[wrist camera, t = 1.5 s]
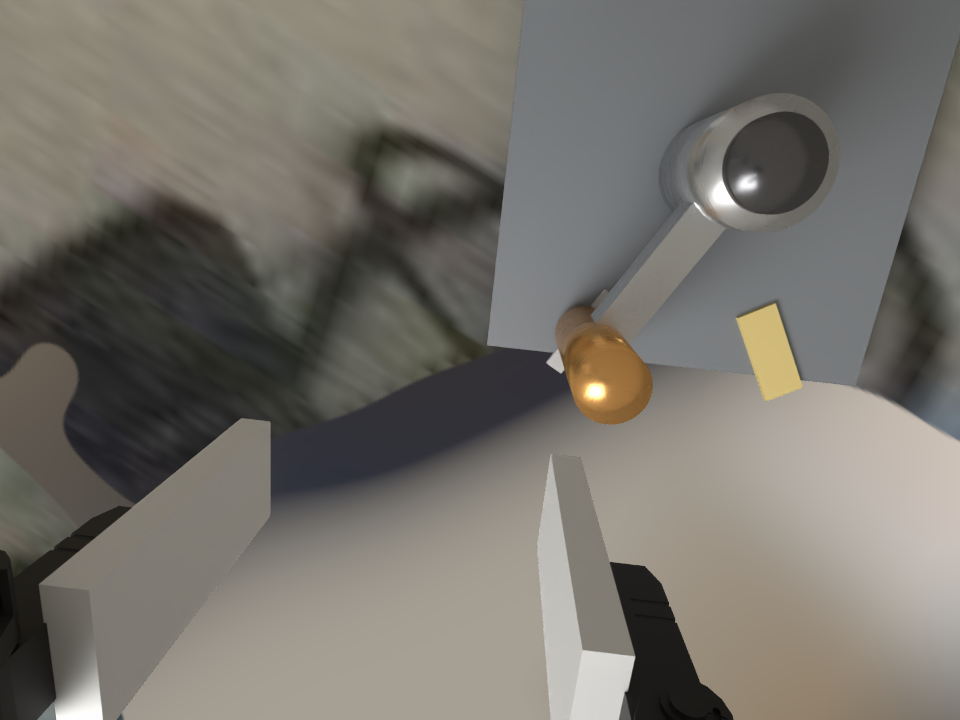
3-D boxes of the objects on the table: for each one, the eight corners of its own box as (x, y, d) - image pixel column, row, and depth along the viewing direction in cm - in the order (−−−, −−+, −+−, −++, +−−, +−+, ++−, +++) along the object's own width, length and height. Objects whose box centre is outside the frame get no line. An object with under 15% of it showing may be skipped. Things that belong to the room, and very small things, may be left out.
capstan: (706, 95, 27) (802, 45, 18) (784, 160, 28) (914, 142, 19) (528, 327, 31) (535, 380, 22) (601, 380, 31) (637, 453, 22)
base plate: (486, 358, 34) (484, 369, 31) (531, -63, 28) (533, -86, 25) (828, 396, 33) (851, 410, 31) (949, -23, 27) (987, -42, 25)
